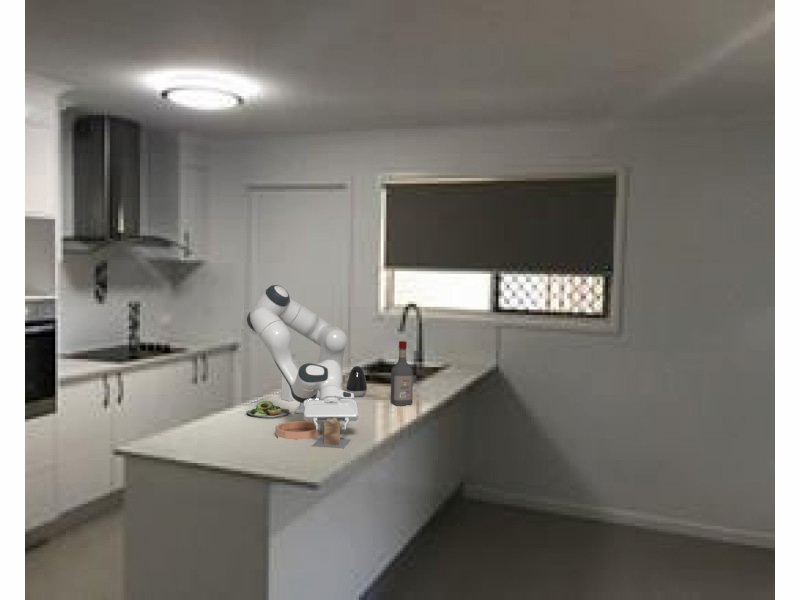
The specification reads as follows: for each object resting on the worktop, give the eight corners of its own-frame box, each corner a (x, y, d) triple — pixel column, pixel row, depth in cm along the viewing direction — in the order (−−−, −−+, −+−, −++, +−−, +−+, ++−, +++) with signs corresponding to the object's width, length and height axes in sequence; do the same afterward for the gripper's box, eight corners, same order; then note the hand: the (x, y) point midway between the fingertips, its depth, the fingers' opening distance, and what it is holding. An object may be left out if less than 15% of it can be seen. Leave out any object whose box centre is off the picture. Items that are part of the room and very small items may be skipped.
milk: (298, 399, 320) (299, 354, 318) (289, 401, 315) (290, 355, 314) (290, 397, 324) (291, 353, 322) (281, 399, 319) (281, 354, 318)
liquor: (413, 405, 312) (415, 342, 310) (395, 406, 309) (396, 343, 307) (407, 401, 320) (408, 340, 318) (389, 402, 318) (390, 340, 316)
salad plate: (301, 413, 292) (302, 403, 292) (275, 422, 277) (275, 411, 276) (267, 408, 302) (267, 398, 301) (240, 416, 286) (240, 405, 286)
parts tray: (311, 448, 238) (311, 446, 238) (320, 440, 250) (320, 437, 250) (343, 451, 236) (343, 448, 236) (351, 442, 248) (351, 439, 248)
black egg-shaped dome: (343, 397, 327) (344, 367, 326) (350, 393, 337) (350, 363, 336) (363, 398, 324) (363, 368, 323) (369, 394, 334) (369, 365, 333)
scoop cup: (324, 445, 240) (324, 420, 239) (324, 440, 245) (324, 416, 245) (339, 444, 240) (339, 419, 240) (339, 440, 246) (339, 416, 245)
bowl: (269, 440, 248) (269, 430, 248) (284, 428, 265) (284, 420, 265) (313, 443, 246) (313, 433, 245) (325, 431, 262) (325, 422, 262)
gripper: (303, 393, 248) (302, 425, 239) (358, 393, 250) (358, 425, 241) (303, 402, 253) (302, 434, 244) (357, 402, 255) (358, 434, 246)
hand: (331, 430), depth 242 cm, fingers open, 8 cm apart
